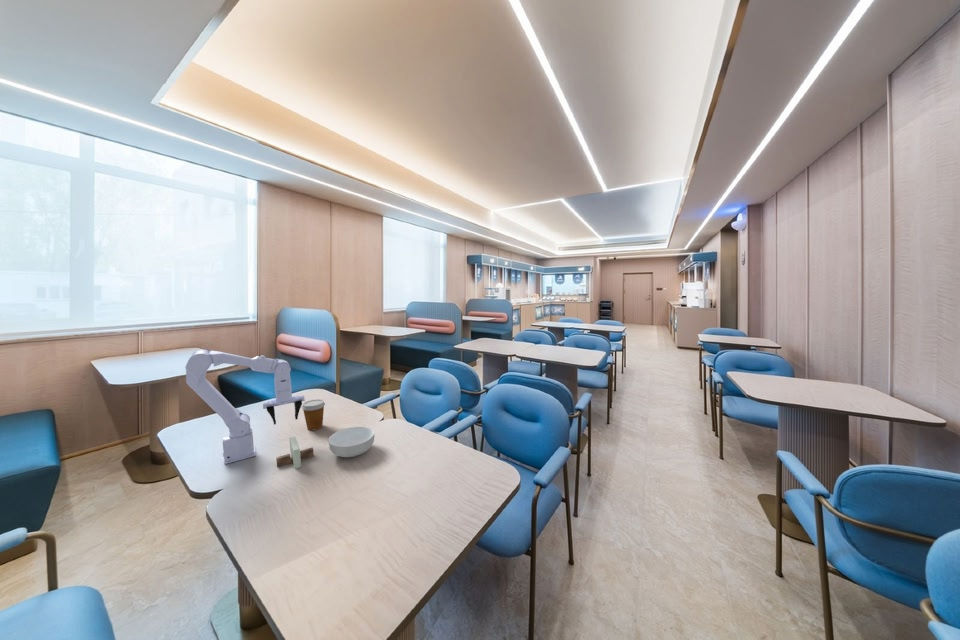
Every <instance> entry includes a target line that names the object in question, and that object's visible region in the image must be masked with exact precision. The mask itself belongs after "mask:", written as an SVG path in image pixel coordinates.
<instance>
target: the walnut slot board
mask: <svg viewBox="0 0 960 640" xmlns="http://www.w3.org/2000/svg"><path fill="white" fill-rule="evenodd" d="M314 455H315V454H314V448H313V447H308V448H305V449H302V450H301V449H300V458H301V461H303V460H305V459H309V458H312V457H314ZM275 460H276V467H278V468H279V467H282V466H286V465H289V464H293V458H292V457H291V453H287V454H284V455H280V456H276V459H275Z"/></svg>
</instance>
